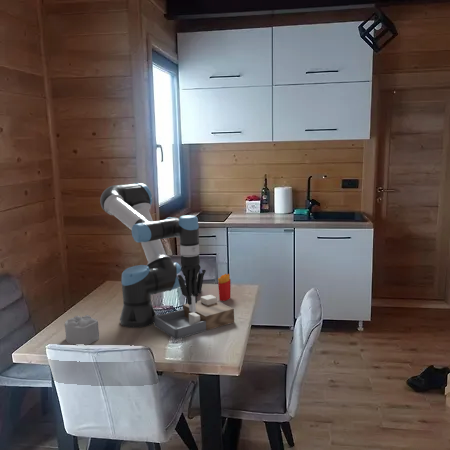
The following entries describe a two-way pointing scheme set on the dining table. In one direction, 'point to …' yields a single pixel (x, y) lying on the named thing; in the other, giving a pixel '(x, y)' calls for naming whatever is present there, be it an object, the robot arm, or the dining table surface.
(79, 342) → the knobbly-topped grey block
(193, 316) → the front tile
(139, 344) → the dining table surface
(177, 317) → the box
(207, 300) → the back tile
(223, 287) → the french fries
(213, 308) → the walnut platform
